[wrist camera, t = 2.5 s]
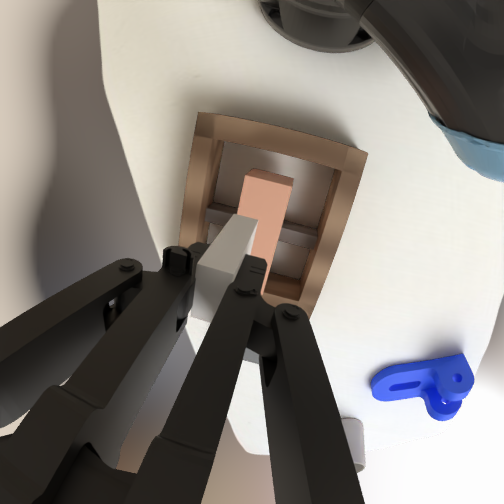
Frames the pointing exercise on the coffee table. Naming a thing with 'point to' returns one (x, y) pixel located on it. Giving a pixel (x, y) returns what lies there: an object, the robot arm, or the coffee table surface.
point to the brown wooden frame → (317, 240)
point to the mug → (355, 441)
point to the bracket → (427, 384)
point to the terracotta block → (265, 210)
